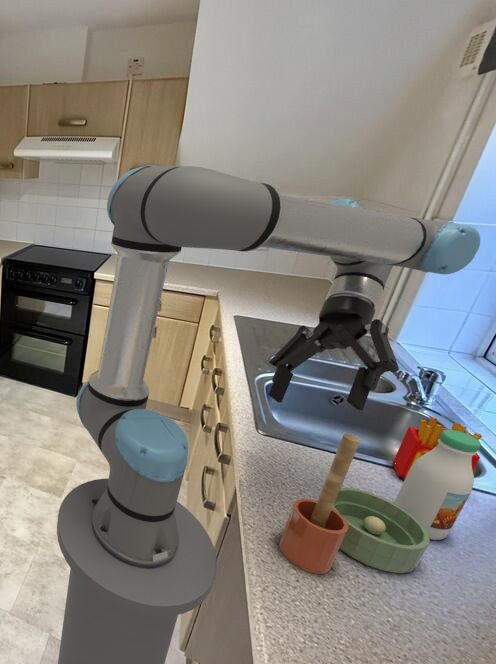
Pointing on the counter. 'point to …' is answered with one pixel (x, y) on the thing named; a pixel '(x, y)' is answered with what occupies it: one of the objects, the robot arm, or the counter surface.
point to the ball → (374, 525)
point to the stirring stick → (334, 479)
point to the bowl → (384, 549)
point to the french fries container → (423, 444)
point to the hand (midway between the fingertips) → (311, 402)
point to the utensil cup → (312, 538)
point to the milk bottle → (440, 483)
